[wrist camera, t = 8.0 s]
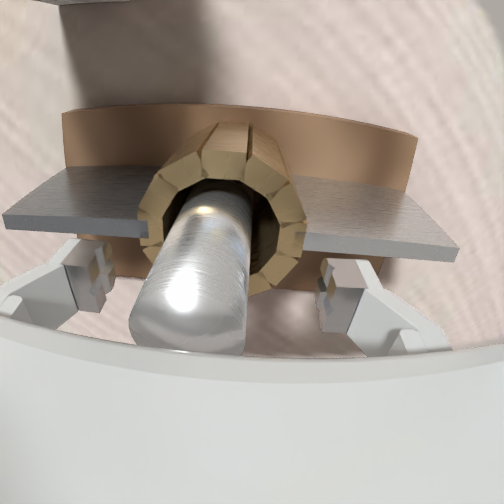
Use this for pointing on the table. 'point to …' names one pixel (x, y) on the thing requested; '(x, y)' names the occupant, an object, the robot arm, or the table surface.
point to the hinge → (264, 211)
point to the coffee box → (75, 1)
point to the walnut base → (267, 119)
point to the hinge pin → (200, 275)
